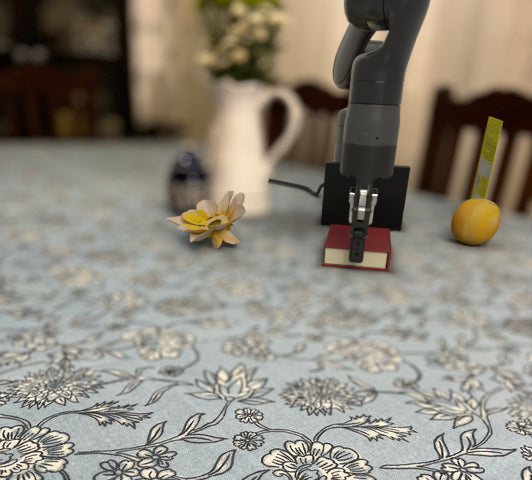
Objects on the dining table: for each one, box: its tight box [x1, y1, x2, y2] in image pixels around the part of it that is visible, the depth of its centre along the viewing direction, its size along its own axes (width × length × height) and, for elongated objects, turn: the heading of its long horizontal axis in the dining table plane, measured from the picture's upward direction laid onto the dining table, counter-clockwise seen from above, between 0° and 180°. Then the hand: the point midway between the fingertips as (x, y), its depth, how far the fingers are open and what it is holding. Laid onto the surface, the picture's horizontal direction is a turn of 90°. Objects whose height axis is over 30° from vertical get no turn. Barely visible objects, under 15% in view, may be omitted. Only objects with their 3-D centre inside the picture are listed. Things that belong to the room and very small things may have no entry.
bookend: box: [320, 160, 411, 232], centre depth 104 cm, size 7×16×12 cm, turn 80°
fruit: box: [450, 198, 502, 246], centre depth 95 cm, size 9×8×8 cm
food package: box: [470, 116, 504, 199], centre depth 109 cm, size 15×1×20 cm, turn 168°
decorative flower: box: [165, 190, 247, 250], centre depth 91 cm, size 15×11×10 cm
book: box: [321, 224, 393, 272], centre depth 87 cm, size 14×10×3 cm
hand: (355, 261), depth 80 cm, fingers closed
